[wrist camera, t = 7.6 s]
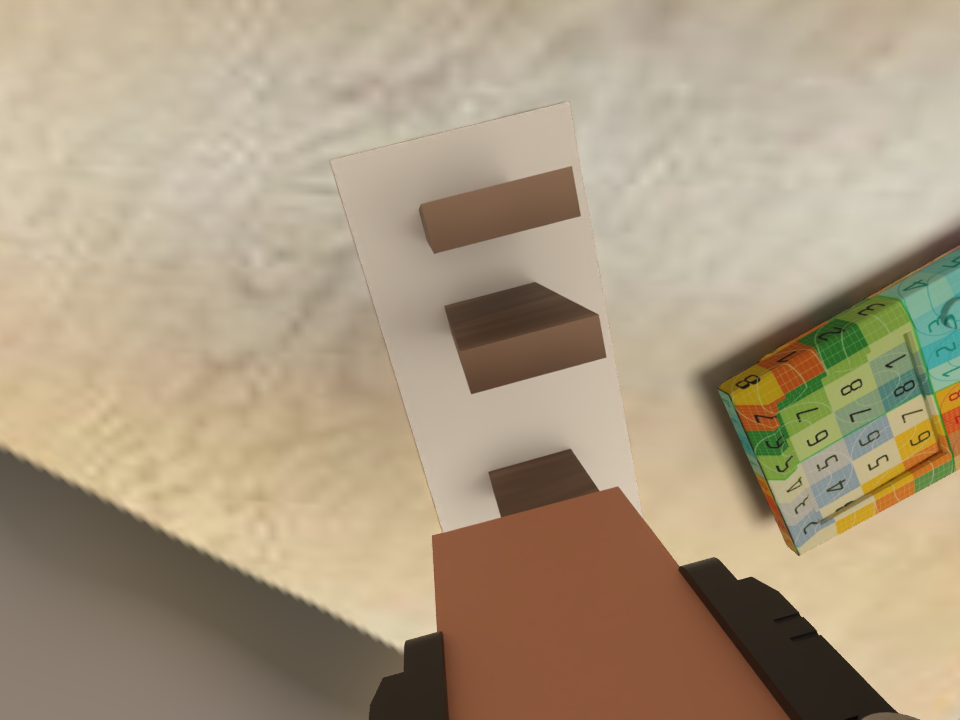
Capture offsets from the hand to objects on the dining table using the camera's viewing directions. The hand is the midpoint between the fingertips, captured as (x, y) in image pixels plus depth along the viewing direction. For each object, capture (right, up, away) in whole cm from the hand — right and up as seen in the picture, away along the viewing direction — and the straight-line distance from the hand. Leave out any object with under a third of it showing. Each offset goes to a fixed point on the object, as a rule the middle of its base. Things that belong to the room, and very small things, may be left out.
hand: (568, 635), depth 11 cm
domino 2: (-1, +8, +17) cm, 19 cm away
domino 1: (-2, +13, +16) cm, 21 cm away
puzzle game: (+22, +5, +22) cm, 32 cm away
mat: (0, +5, +19) cm, 19 cm away
